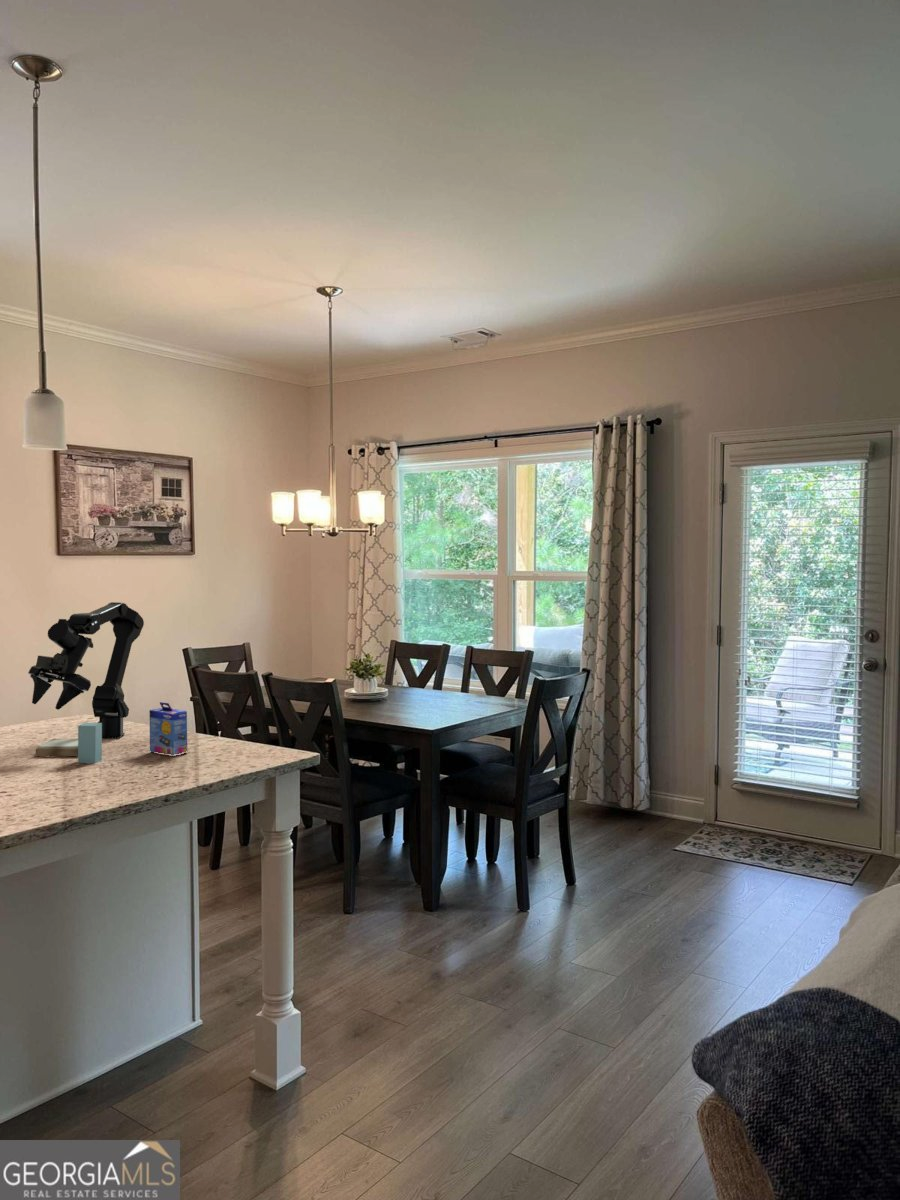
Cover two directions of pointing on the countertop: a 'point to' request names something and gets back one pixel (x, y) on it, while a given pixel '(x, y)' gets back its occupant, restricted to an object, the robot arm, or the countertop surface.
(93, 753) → the block
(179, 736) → the ink cartridge box
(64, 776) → the countertop surface
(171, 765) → the countertop surface
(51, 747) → the stand
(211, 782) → the countertop surface
